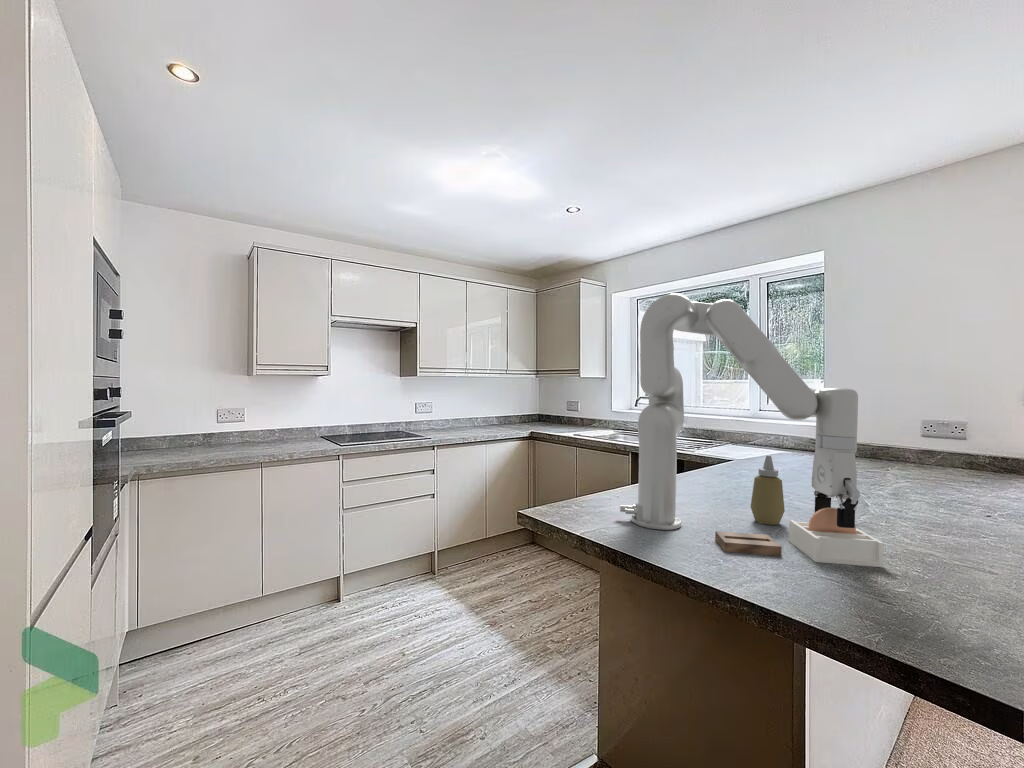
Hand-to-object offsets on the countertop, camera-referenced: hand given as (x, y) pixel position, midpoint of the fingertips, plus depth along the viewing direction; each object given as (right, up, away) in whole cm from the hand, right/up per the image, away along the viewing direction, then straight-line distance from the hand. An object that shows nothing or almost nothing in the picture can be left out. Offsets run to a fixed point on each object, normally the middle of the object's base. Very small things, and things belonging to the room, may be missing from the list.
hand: (833, 520), depth 103 cm
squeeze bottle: (-2, -7, +22) cm, 24 cm away
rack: (0, -7, 0) cm, 7 cm away
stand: (-18, -7, +3) cm, 19 cm away
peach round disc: (0, -2, 0) cm, 2 cm away
